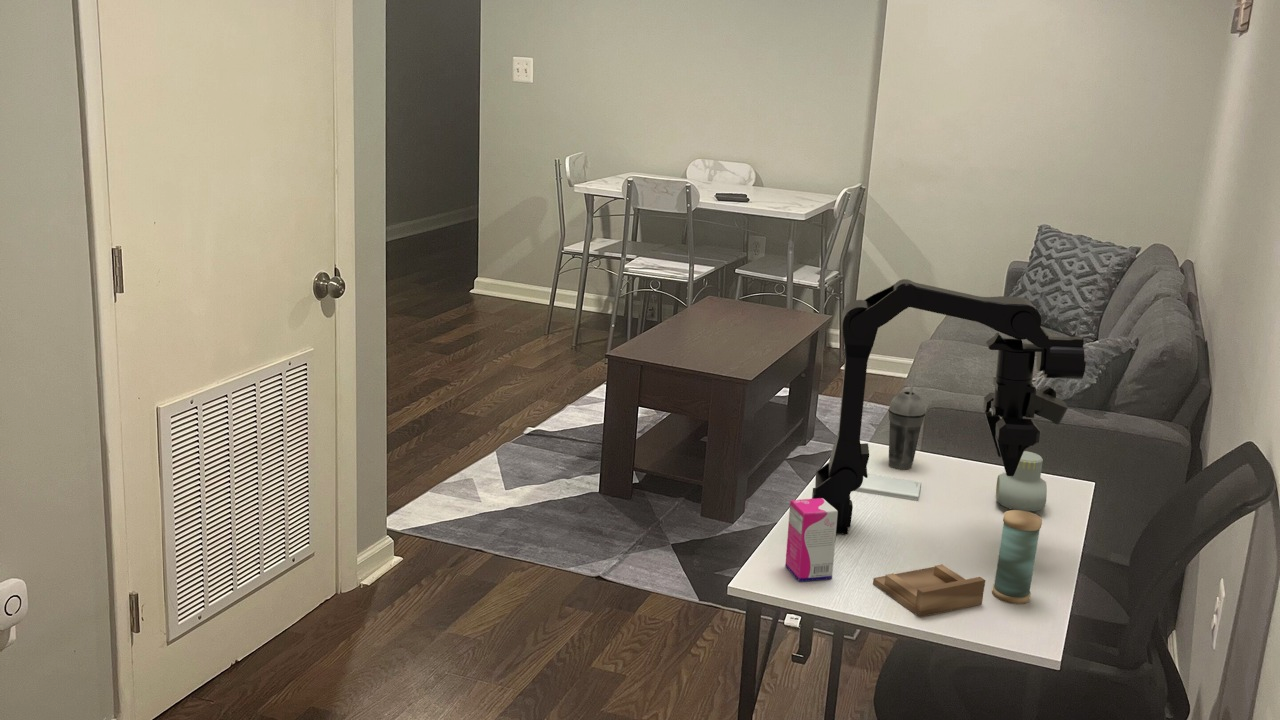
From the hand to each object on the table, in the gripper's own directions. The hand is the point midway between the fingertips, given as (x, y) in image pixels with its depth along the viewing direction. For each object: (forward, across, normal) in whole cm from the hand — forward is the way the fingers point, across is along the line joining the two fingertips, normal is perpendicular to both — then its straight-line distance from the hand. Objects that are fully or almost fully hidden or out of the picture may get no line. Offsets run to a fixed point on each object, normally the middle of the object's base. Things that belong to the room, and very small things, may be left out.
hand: (1005, 466), depth 184 cm
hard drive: (+14, +22, +18) cm, 31 cm away
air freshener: (+15, +20, -6) cm, 25 cm away
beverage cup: (+14, +35, +14) cm, 40 cm away
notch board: (+14, -22, +14) cm, 29 cm away
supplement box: (+13, -19, +32) cm, 39 cm away
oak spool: (+14, -19, +1) cm, 24 cm away
